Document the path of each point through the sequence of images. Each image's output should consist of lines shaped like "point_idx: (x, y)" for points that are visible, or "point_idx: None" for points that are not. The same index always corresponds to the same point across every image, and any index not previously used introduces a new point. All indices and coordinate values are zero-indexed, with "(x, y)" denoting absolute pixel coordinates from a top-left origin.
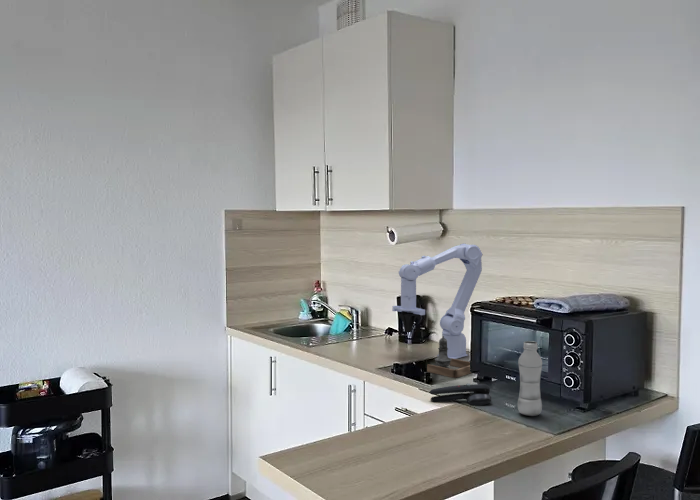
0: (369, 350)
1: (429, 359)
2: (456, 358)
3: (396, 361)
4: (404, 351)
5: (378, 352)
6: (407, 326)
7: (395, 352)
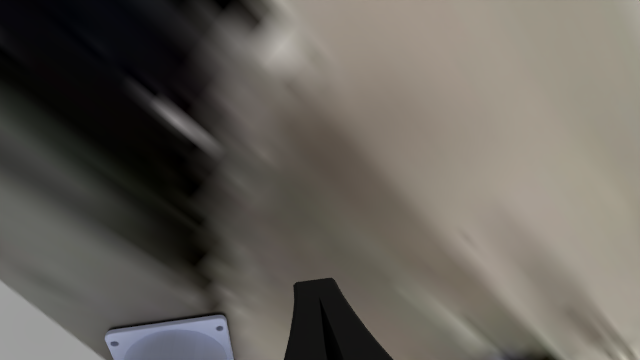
0: (598, 150)
1: (200, 250)
2: (111, 348)
3: (297, 65)
4: (426, 266)
5: (531, 154)
6: (298, 332)
7: (451, 221)
